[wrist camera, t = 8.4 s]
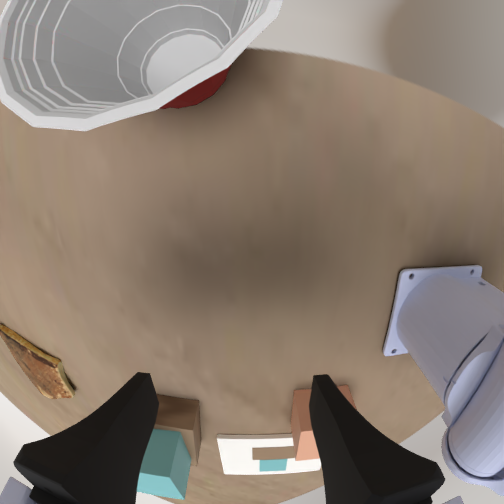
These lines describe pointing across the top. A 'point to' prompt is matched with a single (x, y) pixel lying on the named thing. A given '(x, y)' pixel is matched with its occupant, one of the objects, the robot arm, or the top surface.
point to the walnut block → (181, 421)
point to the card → (261, 455)
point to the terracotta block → (307, 424)
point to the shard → (38, 366)
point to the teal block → (165, 465)
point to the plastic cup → (119, 55)
